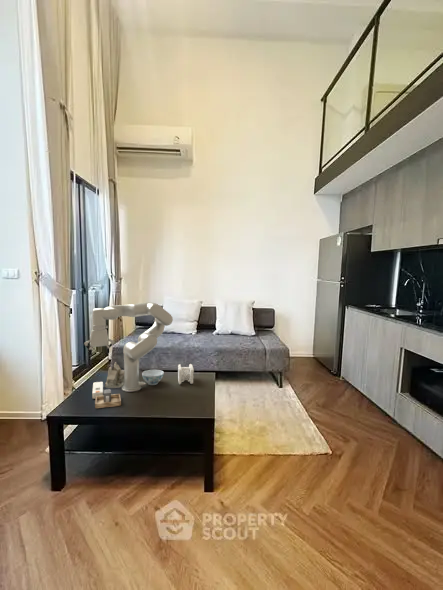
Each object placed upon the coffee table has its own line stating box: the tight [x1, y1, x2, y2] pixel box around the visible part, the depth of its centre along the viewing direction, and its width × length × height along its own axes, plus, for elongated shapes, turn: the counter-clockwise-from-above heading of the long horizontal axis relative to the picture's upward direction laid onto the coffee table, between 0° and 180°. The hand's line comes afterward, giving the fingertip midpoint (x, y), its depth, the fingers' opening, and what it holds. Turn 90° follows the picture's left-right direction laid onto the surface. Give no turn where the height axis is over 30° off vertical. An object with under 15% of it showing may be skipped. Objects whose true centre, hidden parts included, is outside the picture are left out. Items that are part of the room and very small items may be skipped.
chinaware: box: [141, 369, 165, 386], centre depth 222 cm, size 15×15×8 cm
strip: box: [91, 381, 104, 400], centre depth 203 cm, size 6×20×4 cm, turn 20°
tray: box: [94, 393, 122, 409], centre depth 187 cm, size 14×12×3 cm
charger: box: [103, 388, 112, 403], centre depth 187 cm, size 4×6×8 cm
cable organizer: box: [177, 363, 195, 385], centre depth 227 cm, size 15×11×12 cm
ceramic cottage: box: [104, 361, 124, 389], centre depth 218 cm, size 16×16×15 cm
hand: (99, 354), depth 197 cm, fingers open, 9 cm apart
